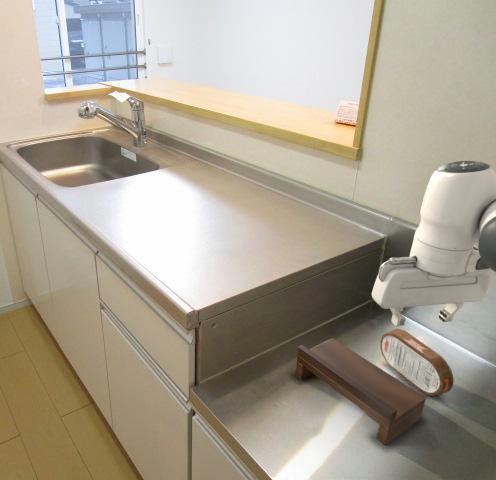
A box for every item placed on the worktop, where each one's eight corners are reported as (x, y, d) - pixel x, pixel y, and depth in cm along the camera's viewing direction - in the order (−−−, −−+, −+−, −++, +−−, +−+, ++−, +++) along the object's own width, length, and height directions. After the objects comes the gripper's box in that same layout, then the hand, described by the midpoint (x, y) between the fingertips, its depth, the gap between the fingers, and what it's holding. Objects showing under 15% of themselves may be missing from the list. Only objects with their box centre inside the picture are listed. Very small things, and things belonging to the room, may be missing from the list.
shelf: (329, 357, 94) (333, 329, 91) (420, 419, 79) (429, 388, 76) (294, 375, 89) (298, 346, 86) (384, 445, 74) (392, 413, 71)
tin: (449, 402, 82) (460, 365, 79) (436, 407, 81) (447, 370, 78) (386, 353, 95) (393, 320, 92) (374, 357, 94) (381, 323, 91)
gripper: (393, 267, 73) (377, 337, 79) (507, 259, 75) (483, 327, 81) (372, 250, 79) (359, 316, 85) (479, 243, 81) (459, 308, 87)
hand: (421, 322), depth 83 cm, fingers open, 8 cm apart
